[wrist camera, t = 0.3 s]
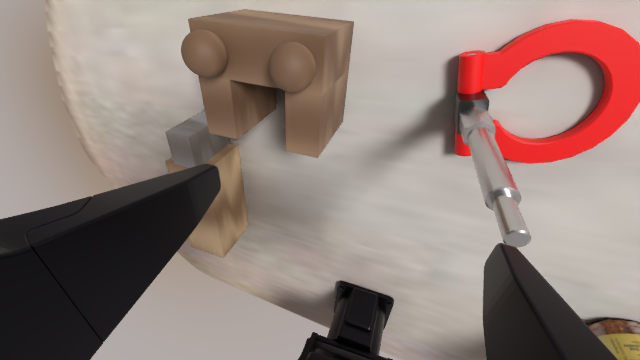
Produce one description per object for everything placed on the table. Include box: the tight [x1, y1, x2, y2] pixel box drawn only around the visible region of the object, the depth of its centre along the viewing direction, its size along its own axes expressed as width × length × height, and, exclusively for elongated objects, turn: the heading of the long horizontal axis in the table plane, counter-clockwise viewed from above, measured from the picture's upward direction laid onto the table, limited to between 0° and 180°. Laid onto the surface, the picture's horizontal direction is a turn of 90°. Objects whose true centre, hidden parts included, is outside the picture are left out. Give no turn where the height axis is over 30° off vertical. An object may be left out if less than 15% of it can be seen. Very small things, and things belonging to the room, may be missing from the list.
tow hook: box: [454, 19, 640, 247], centre depth 13 cm, size 8×13×9 cm
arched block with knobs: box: [181, 9, 354, 158], centre depth 19 cm, size 7×8×8 cm
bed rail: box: [166, 110, 248, 258], centre depth 29 cm, size 14×4×5 cm, turn 177°
